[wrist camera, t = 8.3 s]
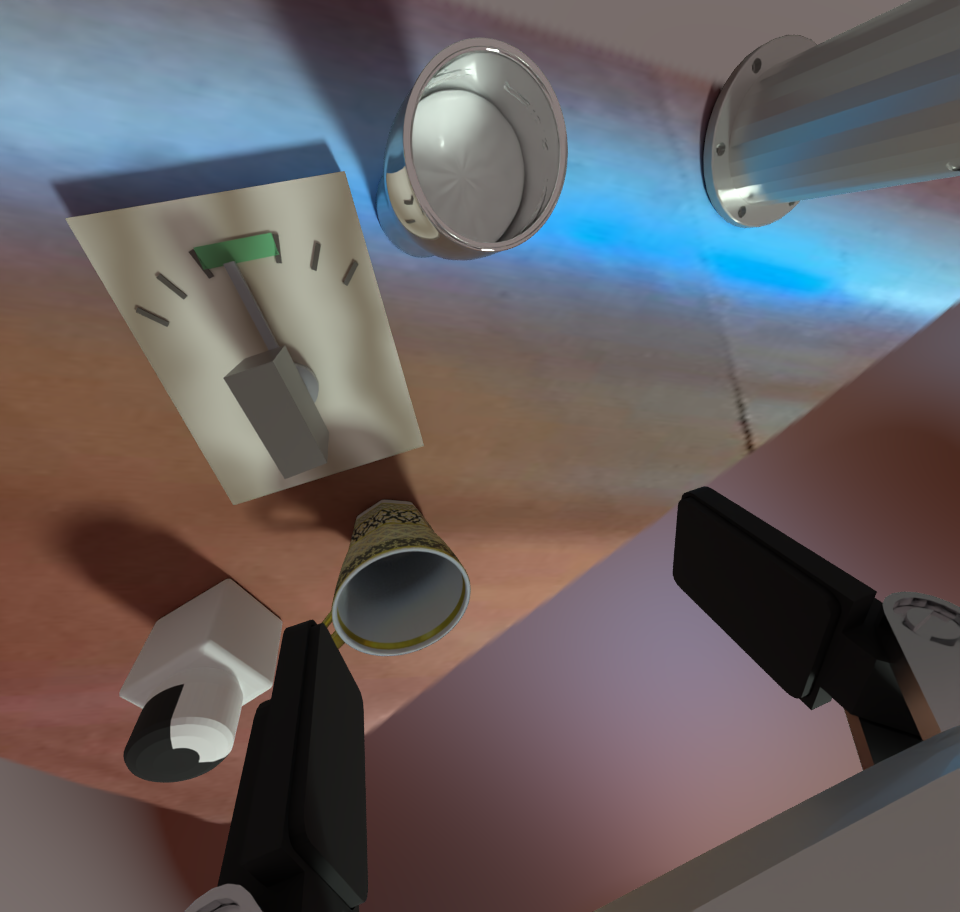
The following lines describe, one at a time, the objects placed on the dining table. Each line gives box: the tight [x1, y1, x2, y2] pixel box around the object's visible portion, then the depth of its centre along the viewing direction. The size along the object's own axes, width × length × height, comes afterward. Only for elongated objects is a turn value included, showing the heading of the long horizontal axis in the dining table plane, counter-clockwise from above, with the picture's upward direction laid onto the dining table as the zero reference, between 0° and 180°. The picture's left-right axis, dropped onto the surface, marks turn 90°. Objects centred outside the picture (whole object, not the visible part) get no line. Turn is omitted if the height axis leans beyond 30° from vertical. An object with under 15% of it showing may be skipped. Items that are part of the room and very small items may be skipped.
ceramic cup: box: [322, 500, 471, 656], centre depth 33 cm, size 13×10×10 cm
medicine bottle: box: [119, 579, 282, 782], centre depth 31 cm, size 7×7×12 cm
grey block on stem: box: [223, 261, 329, 479], centre depth 23 cm, size 3×11×8 cm, turn 16°
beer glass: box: [376, 38, 568, 260], centre depth 22 cm, size 7×7×15 cm
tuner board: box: [65, 171, 424, 505], centre depth 28 cm, size 15×19×2 cm
